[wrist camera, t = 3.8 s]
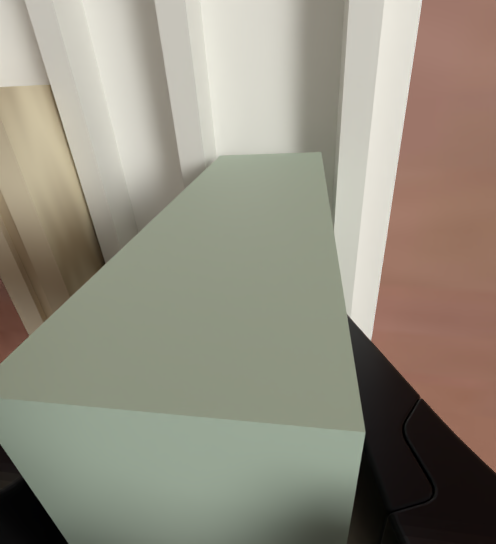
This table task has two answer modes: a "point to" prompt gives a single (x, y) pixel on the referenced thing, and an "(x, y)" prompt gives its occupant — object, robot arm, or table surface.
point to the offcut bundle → (41, 208)
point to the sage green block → (200, 374)
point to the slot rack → (225, 103)
